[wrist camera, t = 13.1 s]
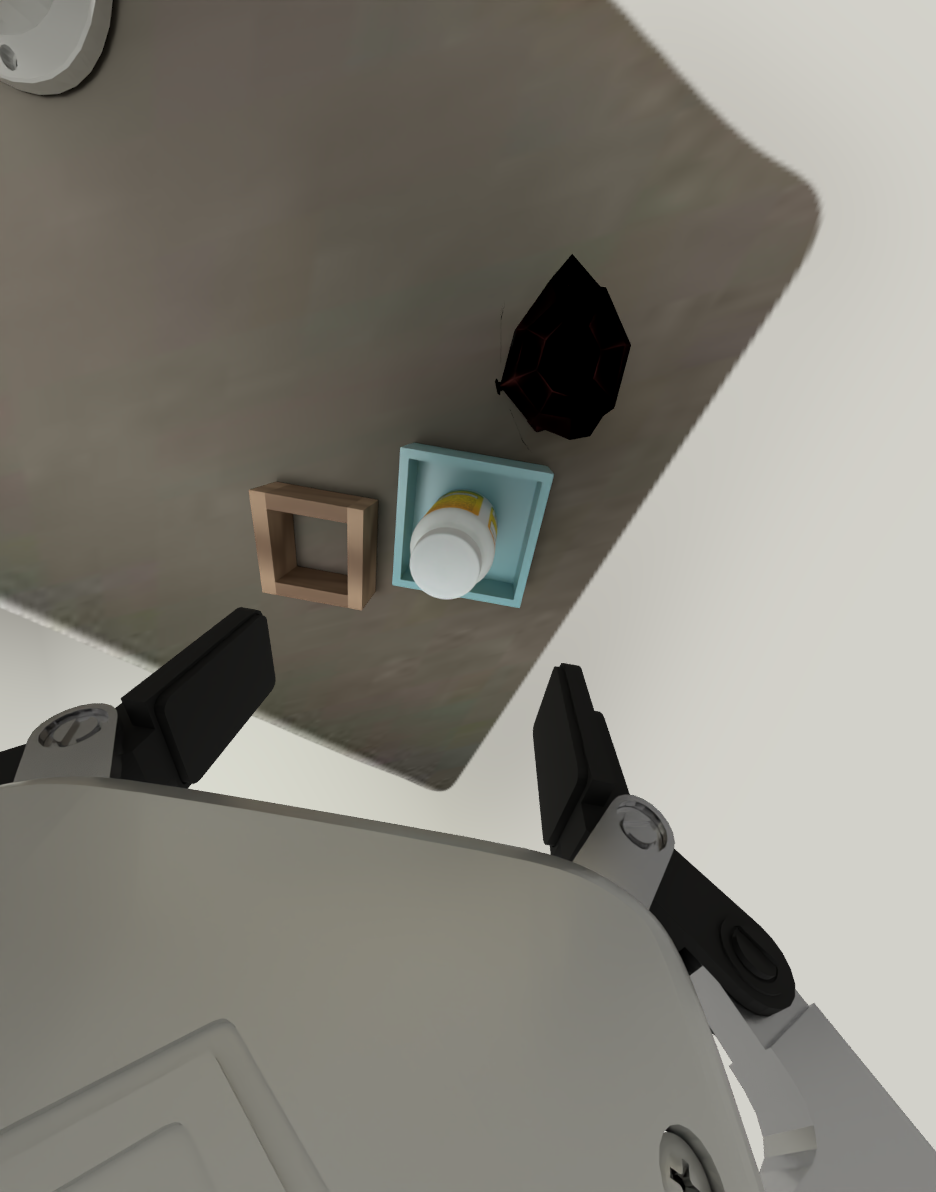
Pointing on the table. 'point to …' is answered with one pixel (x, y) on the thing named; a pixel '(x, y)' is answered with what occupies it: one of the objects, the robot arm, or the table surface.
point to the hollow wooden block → (279, 552)
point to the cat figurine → (567, 356)
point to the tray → (501, 481)
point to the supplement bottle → (454, 544)
